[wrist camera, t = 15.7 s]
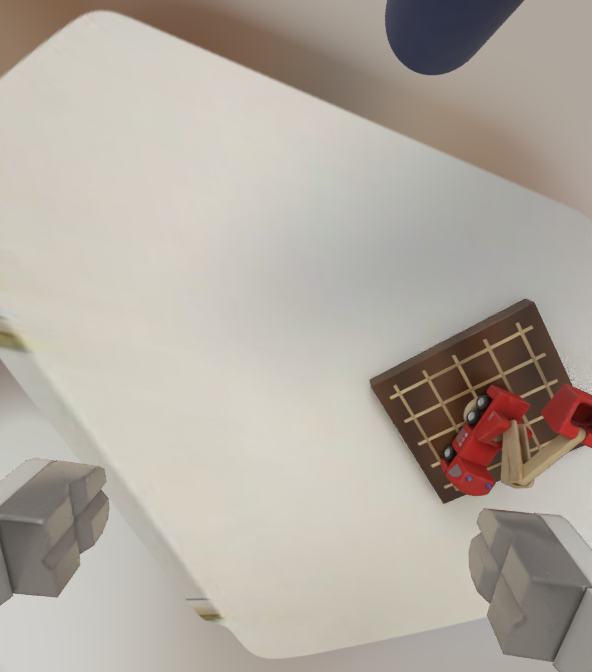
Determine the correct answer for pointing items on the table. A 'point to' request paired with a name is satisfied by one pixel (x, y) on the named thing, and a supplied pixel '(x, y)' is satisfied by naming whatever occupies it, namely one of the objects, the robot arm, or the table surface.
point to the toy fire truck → (514, 439)
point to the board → (473, 387)
